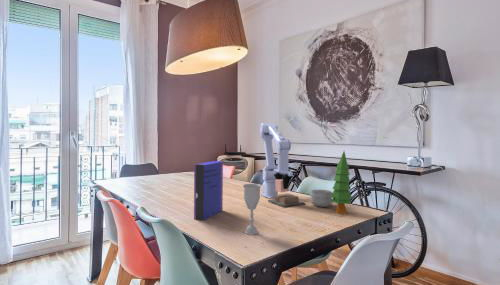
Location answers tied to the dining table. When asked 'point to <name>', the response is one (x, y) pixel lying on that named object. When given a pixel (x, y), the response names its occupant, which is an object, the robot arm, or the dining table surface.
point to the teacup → (321, 197)
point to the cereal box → (208, 189)
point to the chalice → (251, 203)
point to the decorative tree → (341, 186)
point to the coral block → (280, 186)
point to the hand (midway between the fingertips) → (282, 187)
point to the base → (286, 200)
